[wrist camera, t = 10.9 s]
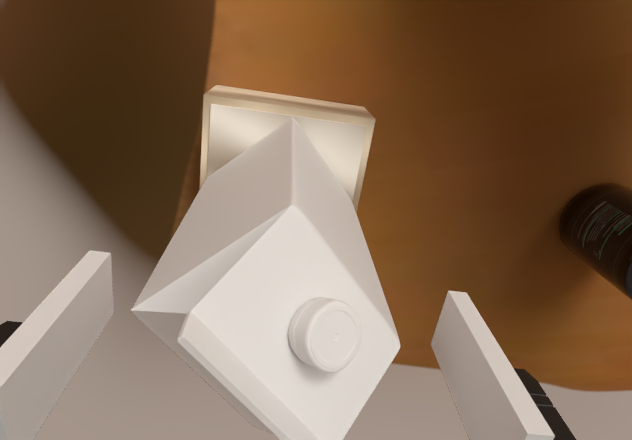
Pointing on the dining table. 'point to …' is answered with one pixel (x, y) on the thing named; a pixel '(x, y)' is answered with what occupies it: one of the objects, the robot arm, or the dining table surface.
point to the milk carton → (275, 292)
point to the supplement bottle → (602, 232)
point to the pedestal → (274, 110)
